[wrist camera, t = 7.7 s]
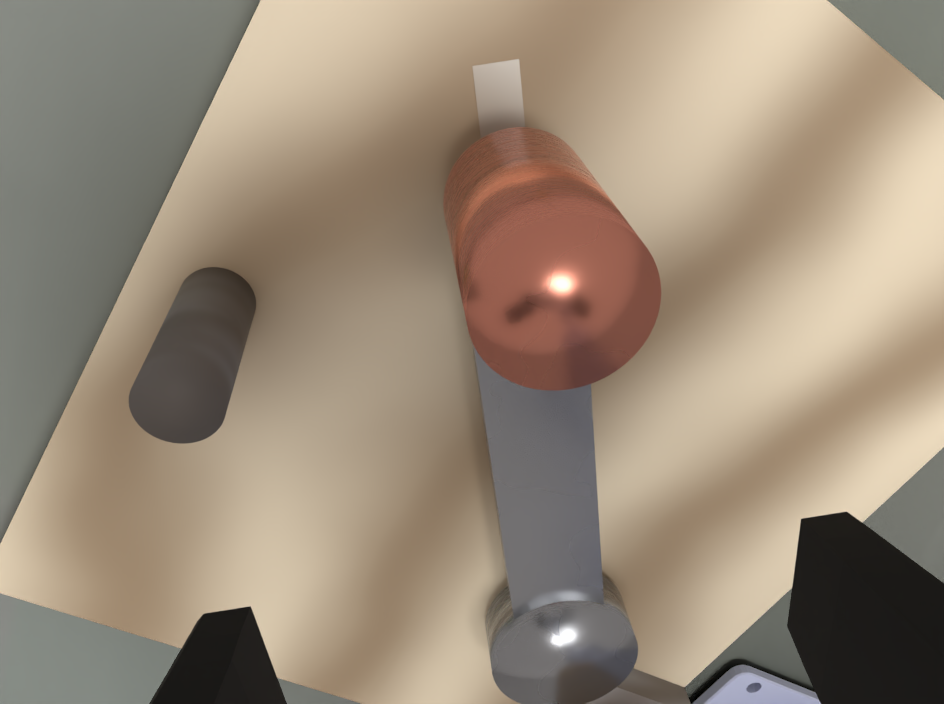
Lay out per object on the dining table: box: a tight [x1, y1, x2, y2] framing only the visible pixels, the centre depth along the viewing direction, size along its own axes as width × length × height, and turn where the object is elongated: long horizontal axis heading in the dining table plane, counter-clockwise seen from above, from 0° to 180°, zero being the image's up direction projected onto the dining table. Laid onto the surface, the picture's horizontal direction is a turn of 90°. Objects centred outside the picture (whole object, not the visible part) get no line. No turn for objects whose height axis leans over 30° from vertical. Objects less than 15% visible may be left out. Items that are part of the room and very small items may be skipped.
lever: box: [443, 127, 661, 704], centre depth 17 cm, size 16×4×6 cm, turn 7°
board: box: [0, 0, 944, 704], centre depth 18 cm, size 20×22×5 cm
